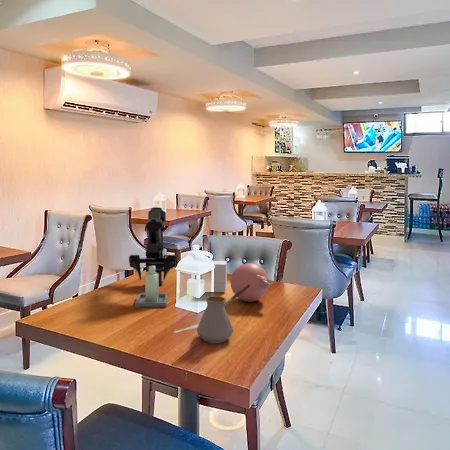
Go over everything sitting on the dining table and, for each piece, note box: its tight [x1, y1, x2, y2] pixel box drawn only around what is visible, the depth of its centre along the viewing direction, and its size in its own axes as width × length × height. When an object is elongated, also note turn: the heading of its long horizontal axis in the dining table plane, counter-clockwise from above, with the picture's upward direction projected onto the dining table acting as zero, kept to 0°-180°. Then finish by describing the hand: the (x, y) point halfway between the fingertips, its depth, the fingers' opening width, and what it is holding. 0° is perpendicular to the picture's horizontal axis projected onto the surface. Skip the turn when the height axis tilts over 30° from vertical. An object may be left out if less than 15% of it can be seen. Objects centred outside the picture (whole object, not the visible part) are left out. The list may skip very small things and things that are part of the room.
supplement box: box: [212, 260, 228, 293], centre depth 179 cm, size 7×7×13 cm
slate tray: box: [134, 293, 169, 308], centre depth 162 cm, size 12×12×2 cm
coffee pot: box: [196, 284, 253, 344], centre depth 132 cm, size 21×12×15 cm, turn 132°
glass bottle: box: [144, 265, 160, 302], centre depth 161 cm, size 5×5×14 cm
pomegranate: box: [230, 262, 273, 303], centre depth 164 cm, size 15×20×15 cm
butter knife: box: [173, 323, 199, 334], centre depth 133 cm, size 1×24×3 cm
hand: (152, 279), depth 162 cm, fingers open, 9 cm apart
